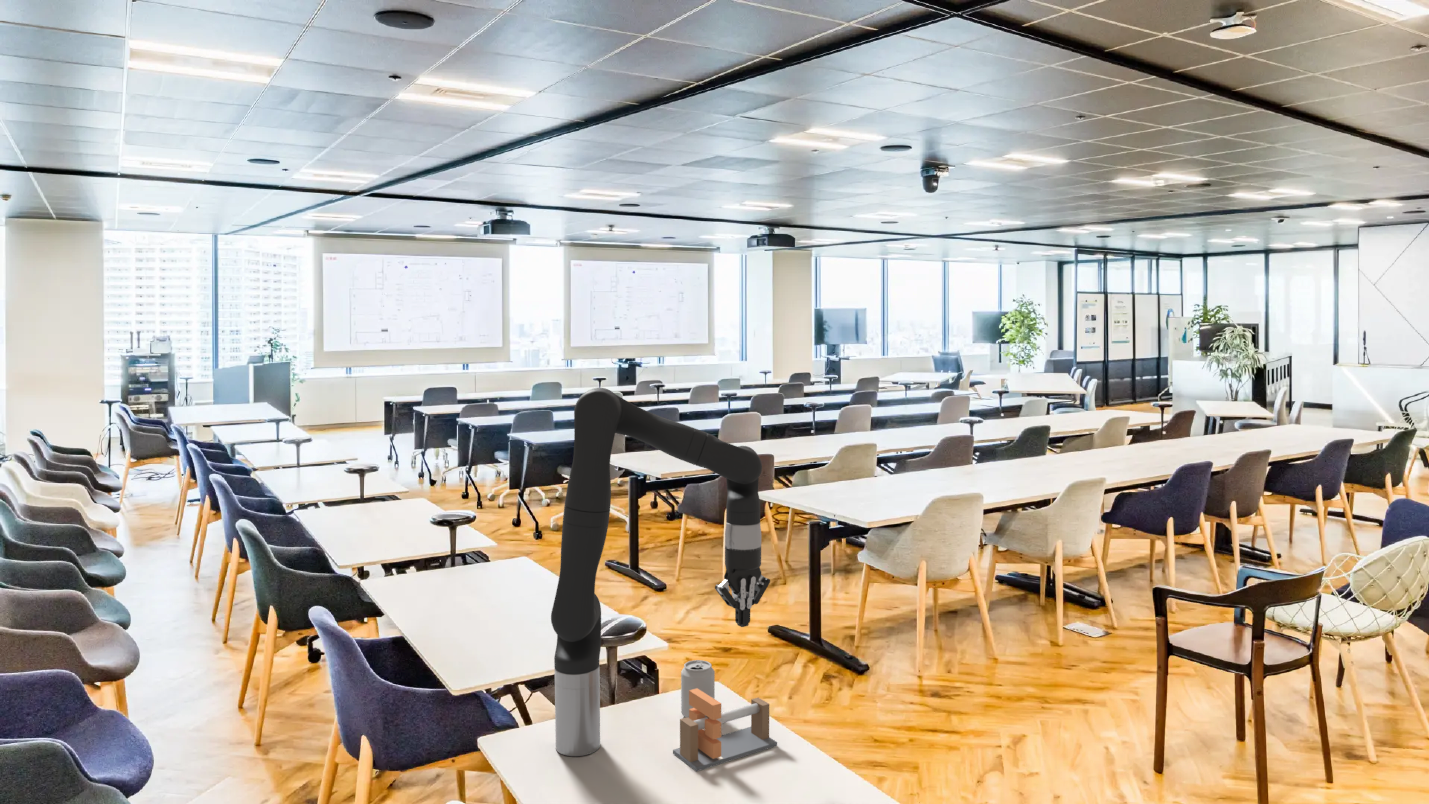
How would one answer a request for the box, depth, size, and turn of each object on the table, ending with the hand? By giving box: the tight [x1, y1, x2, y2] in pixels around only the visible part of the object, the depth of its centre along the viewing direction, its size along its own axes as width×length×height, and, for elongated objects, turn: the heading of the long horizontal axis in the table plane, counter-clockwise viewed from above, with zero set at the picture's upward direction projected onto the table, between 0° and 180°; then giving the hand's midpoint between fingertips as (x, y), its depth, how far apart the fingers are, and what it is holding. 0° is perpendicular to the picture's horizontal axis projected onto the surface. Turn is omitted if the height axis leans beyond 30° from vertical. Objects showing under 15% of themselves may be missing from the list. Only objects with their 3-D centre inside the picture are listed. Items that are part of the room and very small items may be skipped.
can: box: [680, 659, 716, 718], centre depth 205 cm, size 8×8×12 cm
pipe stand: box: [672, 697, 778, 772], centre depth 188 cm, size 20×9×8 cm, turn 123°
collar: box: [689, 688, 722, 759], centre depth 185 cm, size 2×9×11 cm, turn 34°
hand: (742, 625), depth 189 cm, fingers closed
